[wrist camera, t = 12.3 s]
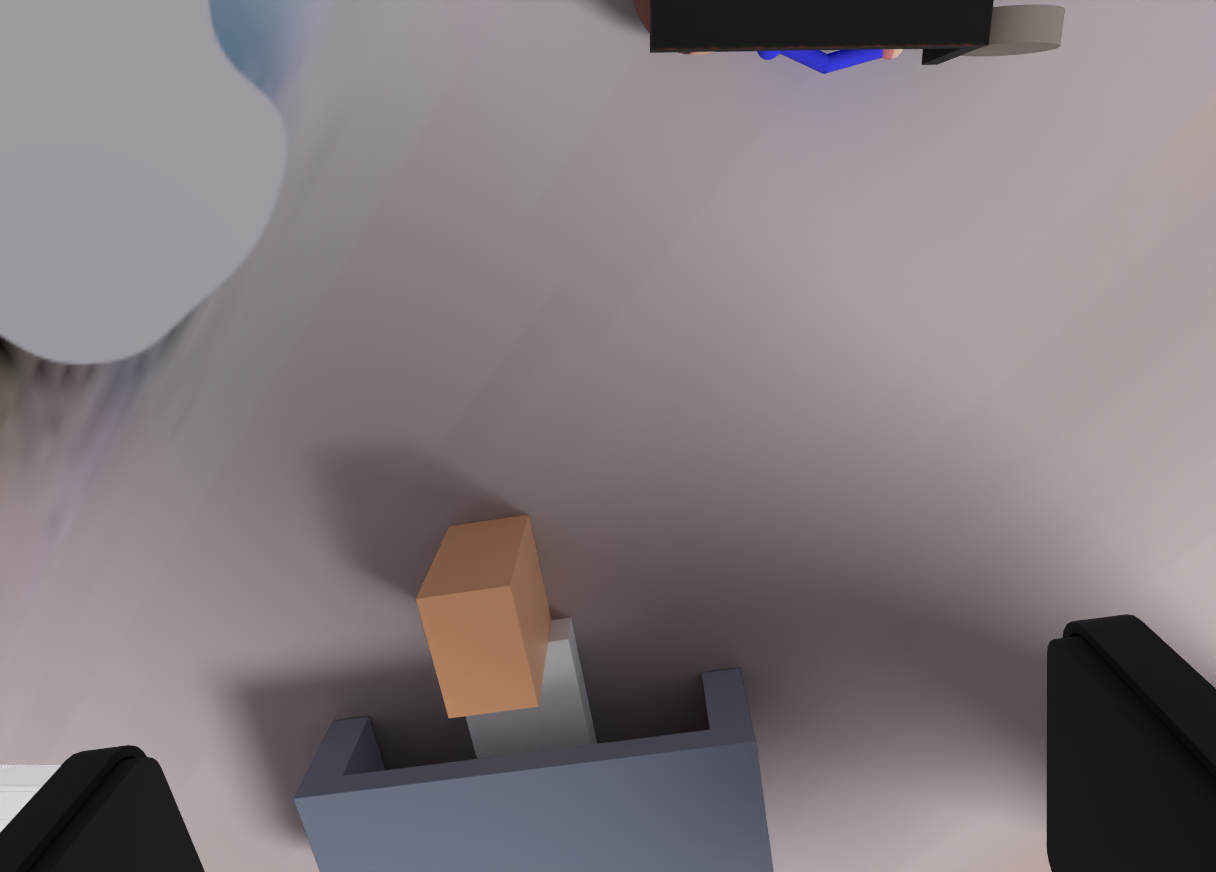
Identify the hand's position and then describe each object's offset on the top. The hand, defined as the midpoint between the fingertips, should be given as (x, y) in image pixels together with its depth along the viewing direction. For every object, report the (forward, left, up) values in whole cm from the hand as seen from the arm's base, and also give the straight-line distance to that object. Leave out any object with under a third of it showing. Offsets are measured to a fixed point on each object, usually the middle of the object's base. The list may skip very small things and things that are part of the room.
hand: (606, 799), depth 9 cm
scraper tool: (+8, +21, -30) cm, 38 cm away
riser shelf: (+8, +25, -30) cm, 40 cm away
